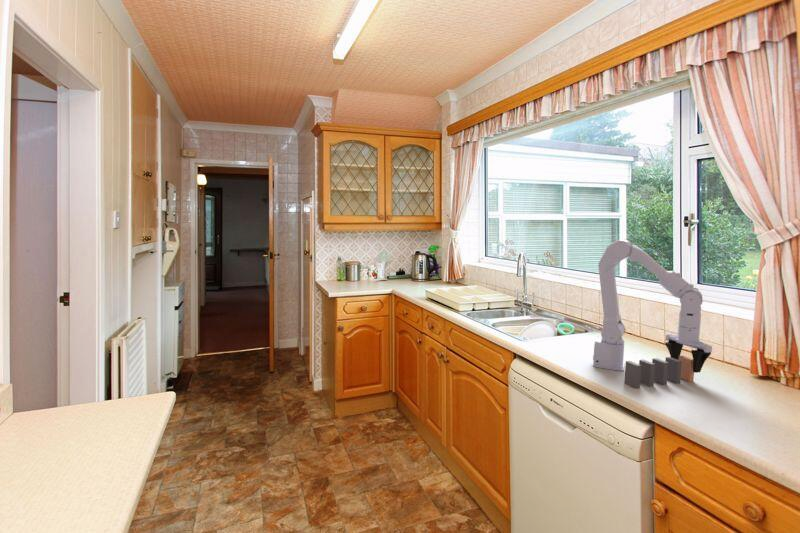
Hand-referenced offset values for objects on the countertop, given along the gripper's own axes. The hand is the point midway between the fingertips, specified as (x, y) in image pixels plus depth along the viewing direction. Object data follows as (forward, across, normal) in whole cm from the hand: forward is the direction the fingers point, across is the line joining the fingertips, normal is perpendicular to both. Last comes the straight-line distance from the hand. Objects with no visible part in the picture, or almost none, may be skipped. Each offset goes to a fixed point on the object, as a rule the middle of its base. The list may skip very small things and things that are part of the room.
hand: (685, 368), depth 140 cm
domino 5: (+4, 0, 0) cm, 4 cm away
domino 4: (+4, 0, +5) cm, 6 cm away
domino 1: (+4, 0, +21) cm, 21 cm away
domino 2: (+4, 0, +16) cm, 16 cm away
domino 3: (+4, 0, +10) cm, 11 cm away
